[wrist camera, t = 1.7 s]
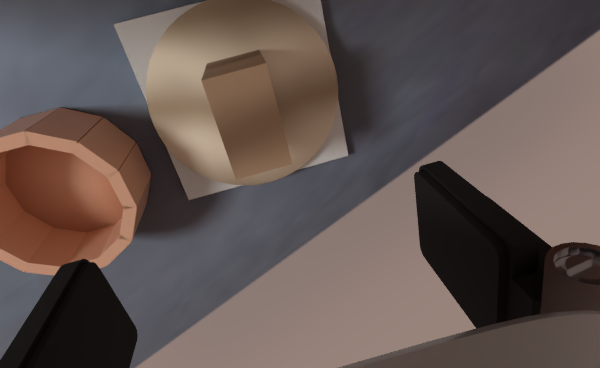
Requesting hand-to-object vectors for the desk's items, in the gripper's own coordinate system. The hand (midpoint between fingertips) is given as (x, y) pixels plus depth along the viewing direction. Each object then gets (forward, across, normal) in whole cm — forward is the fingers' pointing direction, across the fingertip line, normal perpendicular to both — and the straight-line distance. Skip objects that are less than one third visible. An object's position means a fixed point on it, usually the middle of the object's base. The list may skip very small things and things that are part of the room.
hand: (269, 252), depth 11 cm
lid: (+18, 0, 0) cm, 18 cm away
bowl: (+18, +14, +2) cm, 23 cm away
